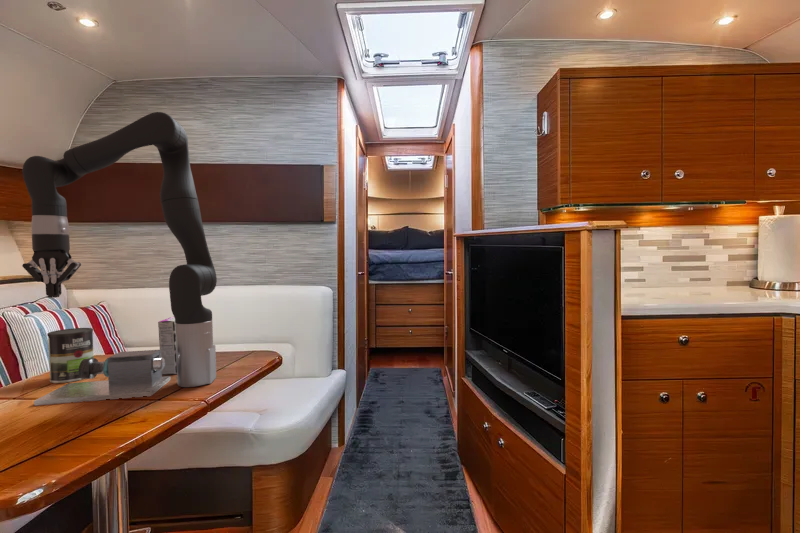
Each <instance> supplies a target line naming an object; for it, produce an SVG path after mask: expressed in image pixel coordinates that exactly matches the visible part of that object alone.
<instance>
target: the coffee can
mask: <svg viewBox="0 0 800 533" xmlns="http://www.w3.org/2000/svg"><path fill="white" fill-rule="evenodd" d="M93 332H94V329H93V328H92V327H75V328H74V327H73V328H64V329H59V330H58V329H57V330H53V331H50V332H48V333H47V334H46V335H47V337H48V338H47V339H48V340H47V342H48V360H49V362H48V363H49V366H48V368H49V382H50V383H51V384H65V383H66V384H68V383H74V382H78V381H79V382H80V381H82V380H84V379H81V378H80V376H79V365H80V363H81V361H82V360H83V359H89V358H95V357H94V338H93V337H94V333H93Z"/></svg>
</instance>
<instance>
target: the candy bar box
mask: <svg viewBox="0 0 800 533" xmlns="http://www.w3.org/2000/svg"><path fill="white" fill-rule="evenodd" d="M157 324H158V342H159V350H161V358H164V359H165V366H164V369H163V370H162V376H171V375H177V361H176V333H175V317H174V315H173V316H171V317H168V318H165V319H162V320H160V321H158V322H157Z"/></svg>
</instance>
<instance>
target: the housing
mask: <svg viewBox="0 0 800 533" xmlns="http://www.w3.org/2000/svg"><path fill="white" fill-rule="evenodd" d="M107 358H108V377H107V378H108V379H107V380H96V381H82V382H80V381H79V382H67V383H66V384H64V385H63V386H60V387H59V388H57V389H55V390H52V391H50V392H49V393H46V394H45V395H43V396H40V397H39V398H37V399H35V400H33V404H34V405H33V406H49V405H59V404H60V405H61V404H71V402H73V403H83V401H85V402H95V401H107V400H106V399H110V400H119V398H122V399H130V398H131V399H133V398H132V397H135V398H144V397H143V396H147V397H152V396H153V395H154V394H155V393H157V392H158V391H159V390H160V389H161V388H163V387H164V386H165V385H167V383H169V382H170V381H171V375H162V370H153V358H161V350H160V349H150V350H149V349H147V350H146V349H145V350H131V351H129V350H128V351H120V352H117V353H115V354H113V355H111V356H109V357H107Z"/></svg>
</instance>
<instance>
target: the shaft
mask: <svg viewBox="0 0 800 533" xmlns="http://www.w3.org/2000/svg"><path fill="white" fill-rule="evenodd" d="M108 358H109V357H107V358H106V359H105V361H104V360H103V361H99V360H98V359H97V358H95V357H94V358H89V359H83V360H82V361H81V363H80V365H79V376H80V378H81V379H83V380H90V379H94V378H96V377H97V375H104V376H105V378H108ZM164 366H165V359H164V358H153V370H163V369H164Z"/></svg>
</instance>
